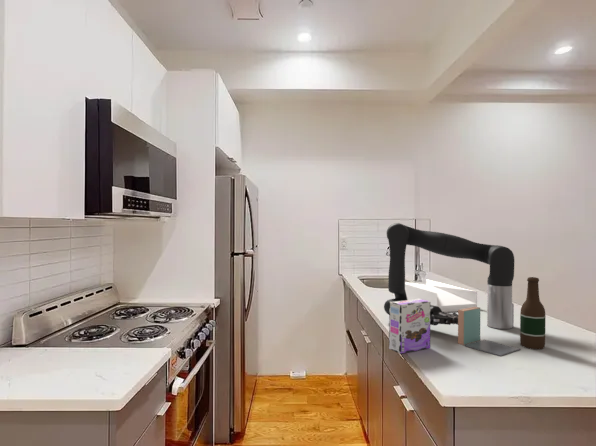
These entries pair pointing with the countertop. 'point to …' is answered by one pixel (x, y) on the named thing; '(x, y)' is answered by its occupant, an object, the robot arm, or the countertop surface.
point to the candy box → (409, 325)
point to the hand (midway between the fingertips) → (465, 322)
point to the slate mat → (492, 347)
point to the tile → (468, 325)
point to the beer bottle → (532, 318)
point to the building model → (442, 295)
